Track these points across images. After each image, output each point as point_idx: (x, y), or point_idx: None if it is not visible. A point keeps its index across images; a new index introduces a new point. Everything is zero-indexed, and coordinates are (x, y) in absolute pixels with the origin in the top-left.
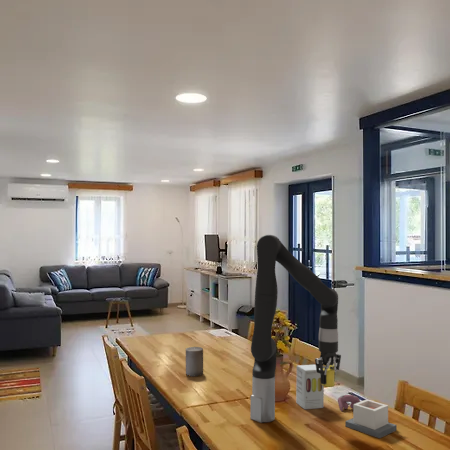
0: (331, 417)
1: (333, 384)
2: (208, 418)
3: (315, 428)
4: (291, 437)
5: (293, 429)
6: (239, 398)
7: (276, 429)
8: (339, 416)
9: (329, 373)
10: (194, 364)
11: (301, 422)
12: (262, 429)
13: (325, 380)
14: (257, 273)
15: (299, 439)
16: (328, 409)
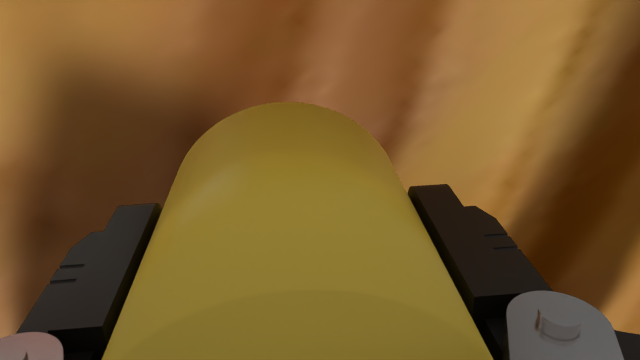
0: (122, 152)
1: (270, 115)
2: None
3: (388, 80)
4: (635, 71)
5: (512, 155)
6: None
7: (582, 212)
8: (47, 131)
9: (430, 278)
10: None
11: None
12: (634, 253)
13: (467, 216)
14: None
15: (632, 13)
16: (28, 264)
